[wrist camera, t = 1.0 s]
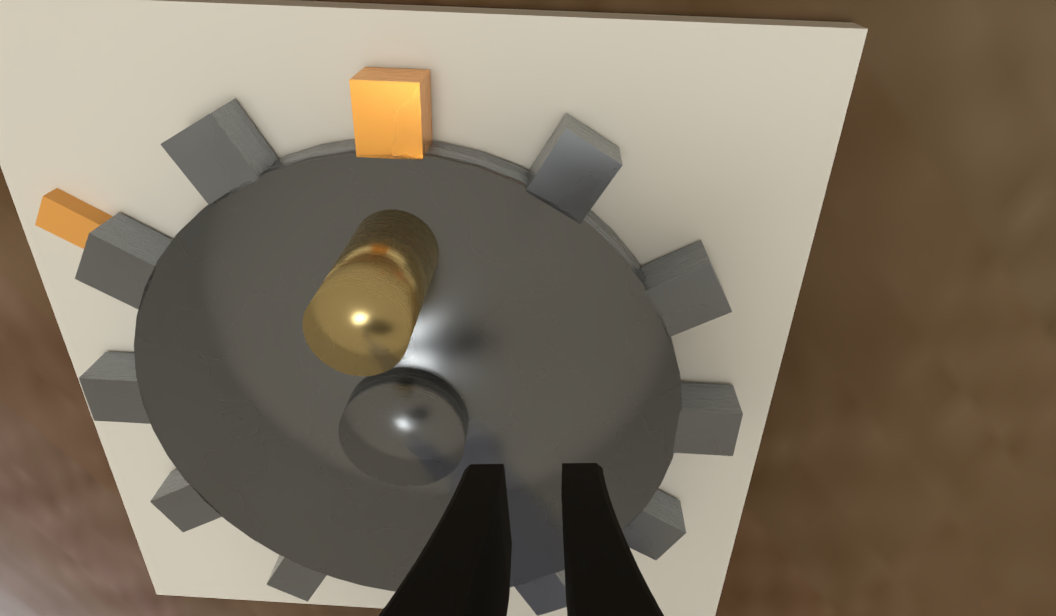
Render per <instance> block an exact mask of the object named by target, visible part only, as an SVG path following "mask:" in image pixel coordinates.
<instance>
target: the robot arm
mask: <svg viewBox="0 0 1056 616" xmlns="http://www.w3.org/2000/svg"><path fill="white" fill-rule="evenodd" d="M561 500H562V523H563V545H564V568H565V590H566V605H567V616H664V615H663V613H662V611H661V609H660V608H659V606H658V604H657V602H656V600H655V598H654V596H653V595H652V593H651V591H650V589H649V587H648V585H647V583H646V581H645V579H644V577H643V575H642V573H641V571H640V569H639V567H638V565H637V563H636V561H635V559H634V557H633V554H632V552H631V550H630V548H629V546H628V543H627V541H626V539H625V537H624V534H623V532H622V530H621V527H620V525H619V522H618V519H617V517H616V514H615V511H614V509H613V506H612V503H611V500H610V497H609V494H608V490H607V487H606V483H605V478H604V473H603V468H602V467H601V466H600V465H598V464H597V463H562V483H561ZM511 553H512V539H511V529H510V519H509V509H508V498H507V488H506V478H505V468H504V464H470V465H469V466H468V467H467V468H466V469H465V470H464V472H463V475H462V477H461V480H460V482H459V484H458V486H457V488H456V490H455V492H454V494H453V497H452V499H451V500H450V502H449V504H448V506H447V508H446V510H445V512H444V514H443V516H442V517H441V519H440V521H439V523H438V525H437V527H436V528H435V530H434V532H433V533H432V535H431V537H430V538H429V540H428V542H427V544H426V545H425V547H424V549H423V550H422V552H421V554H420V555H419V557H418V559H417V560H416V562H415V563H414V565H413V566H412V568H411V569H410V571H409V572H408V574H407V575H406V577H405V578H404V580H403V581H402V583H401V584H400V586H399V587H398V589H397V590H396V592H395V593H394V595H393V596H392V598H391V599H390V601H389V602H388V604H387V605H386V606H385V608H384V609H383V610H382V612H381V613H380V615H379V616H507V610H508V603H509V593H510V574H511Z"/></svg>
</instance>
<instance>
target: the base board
mask: <svg viewBox="0 0 1056 616" xmlns="http://www.w3.org/2000/svg"><path fill="white" fill-rule="evenodd" d="M867 31H868V29H867V28H865V27H862V26H860V25H858V24H855V23H853V22H830V21H805V20H779V19H754V18H729V17H704V16H679V15H653V14H628V13H603V12H578V11H553V10H527V9H502V8H477V7H452V6H426V5H401V4H376V3H351V2H326V1H300V0H0V166H1V169H2V171H3V174H4V177H5V180H6V182H7V185H8V188H9V191H10V193H11V196H12V199H13V202H14V204H15V207H16V210H17V213H18V215H19V218H20V221H21V223H22V226H23V229H24V232H25V234H26V237H27V240H28V243H29V245H30V248H31V251H32V254H33V256H34V259H35V262H36V265H37V267H38V270H39V273H40V276H41V278H42V281H43V284H44V287H45V289H46V292H47V295H48V298H49V300H50V303H51V306H52V308H53V311H54V314H55V317H56V319H57V322H58V325H59V328H60V330H61V333H62V336H63V339H64V341H65V344H66V347H67V350H68V352H69V355H70V358H71V361H72V363H73V366H74V369H75V372H76V374H77V377H78V380H79V377H80V376H81V375H82V374H83V373H84V372H86V371H87V370H88V369H89V368H90V367H91V366H92V365H93V364H94V363H95V362H96V361H97V360H98V359H99V358H100V357H101V356H102V355H103V354H104V353H105V352H123V353H134V337H135V327H136V317H137V313H138V309H136V308H134V307H132V306H130V305H128V304H126V303H124V302H122V301H119V300H117V299H115V298H113V297H111V296H109V295H107V294H105V293H103V292H101V291H99V290H97V289H95V288H93V287H91V286H89V285H86V284H84V283H82V282H80V281H78V280H76V279H75V276H76V273H77V270H78V267H79V263H80V260H81V257H82V254H83V251H84V248H85V244H86V241H87V238H88V235H89V233H90V232H91V231H93V230H94V229H96V228H97V227H98V226H100V225H101V224H103V223H104V222H106V221H107V220H108V219H110V218H111V217H113V216H114V215H116V214H117V213H119V212H120V213H122V214H124V215H125V216H127V217H129V218H131V219H133V220H135V221H137V222H139V223H141V224H143V225H145V226H147V227H149V228H151V229H153V230H155V231H157V232H159V233H160V234H162V235H164V236H166V237H168V238H170V239H172V240H173V239H174V237H175V236H176V234H177V233H178V232H179V231H180V230H181V229H182V228H183V227H184V226H186V225H187V224H188V223H189V222H190V221H191V220H192V219H193V218H194V217H195V216H196V215H197V214H198V213H199V212H200V211H201V210H202V209H203V208H205V207H206V206H207V205H208V203H207V202H206V201H205V200H204V198H203V197H202V196H201V195H200V193H199V192H198V191H197V190H196V188H195V187H194V186H193V185H192V183H191V182H190V181H189V180H188V178H187V177H186V176H185V175H184V173H183V172H182V171H181V170H180V168H179V167H178V166H177V165H176V163H175V162H174V161H173V160H172V158H171V157H170V156H169V155H168V153H167V152H166V151H165V150H164V148H163V147H162V146H161V145H160V144H161V143H163V142H164V141H166V140H168V139H169V138H171V137H173V136H174V135H176V134H177V133H179V132H181V131H182V130H184V129H186V128H187V127H189V126H190V125H192V124H194V123H195V122H197V121H199V120H200V119H202V118H203V117H205V116H207V115H208V114H210V113H212V112H213V111H215V110H217V109H218V108H220V107H222V106H223V105H225V104H227V103H228V102H230V101H232V100H233V99H236V101H237V102H238V103H239V105H240V106H241V107H242V109H243V110H244V112H245V113H246V114H247V116H248V117H249V119H250V120H251V121H252V123H253V124H254V125H255V127H256V128H257V130H258V131H259V132H260V134H261V135H262V136H263V138H264V139H265V141H266V142H267V143H268V145H269V146H270V148H271V149H272V150H273V152H274V153H275V154H276V156H277V157H278V159H279V158H281V157H283V156H285V155H288V154H291V153H295V152H298V151H301V150H305V149H308V148H311V147H315V146H318V145H321V144H326V143H333V142H339V141H346V140H352V139H355V136H354V125H353V115H352V105H351V94H350V84H349V79H351V78H352V77H353V76H354V75H355V74H357V73H358V72H359V71H360V70H361V69H363V68H364V67H378V68H402V69H426V70H430V84H431V109H432V135H433V141H440V142H446V143H450V144H454V145H458V146H462V147H466V148H471V149H475V150H479V151H483V152H486V153H488V154H491V155H493V156H496V157H499V158H501V159H504V160H507V161H509V162H512V163H515V164H517V165H520V166H522V167H524V168H526V169H528V170H529V169H530V168H531V166H532V165H533V163H534V161H535V160H536V158H537V157H538V155H539V154H540V152H541V151H542V149H543V148H544V146H545V144H546V143H547V141H548V140H549V138H550V137H551V135H552V134H553V132H554V131H555V129H556V128H557V126H558V124H559V123H560V121H561V120H562V118H563V117H564V115H565V114H566V113H567V114H569V115H570V116H572V117H573V118H575V119H576V120H578V121H579V122H581V123H583V124H584V125H586V126H587V127H589V128H590V129H592V130H593V131H595V132H597V133H598V134H600V135H601V136H603V137H604V138H606V139H607V140H609V141H610V142H612V143H614V144H615V145H617V146H618V147H619V150H620V155H621V159H622V164H623V165H622V167H621V168H620V169H619V171H618V172H617V174H616V175H615V176H614V178H613V179H612V181H611V182H610V183H609V185H608V186H607V188H606V189H605V190H604V192H603V193H602V194H601V196H600V197H599V199H598V200H597V201H596V203H595V204H594V206H593V207H592V208H591V210H592V211H593V212H594V213H595V214H596V215H597V216H598V217H599V218H600V219H601V220H602V221H603V222H605V223H606V224H607V225H608V226H609V227H610V228H611V229H612V230H613V231H614V232H615V233H616V234H617V235H618V237H619V238H620V239H621V240H622V241H623V243H624V244H625V245H626V246H627V248H628V249H629V250H630V251H631V252H632V254H633V255H634V256H635V257H636V259H637V260H638V262H639V263H640V265H641V266H643V265H645V264H647V263H650V262H652V261H654V260H656V259H659V258H661V257H663V256H666V255H668V254H670V253H672V252H675V251H677V250H679V249H682V248H684V247H686V246H688V245H691V244H693V243H695V242H698V241H700V240H701V241H702V243H703V245H704V247H705V250H706V252H707V254H708V256H709V258H710V261H711V263H712V265H713V267H714V270H715V272H716V274H717V276H718V278H719V281H720V283H721V285H722V287H723V290H724V292H725V295H726V297H727V300H728V302H729V305H730V307H731V310H732V312H731V313H728V314H726V315H723V316H721V317H718V318H716V319H713V320H711V321H708V322H706V323H703V324H701V325H698V326H696V327H693V328H691V329H688V330H686V331H684V332H681V333H679V334H676V335H674V336H671V338H672V342H673V346H674V351H675V355H676V359H677V363H678V367H679V371H680V379H681V382H690V383H709V384H728V385H733V386H734V389H735V392H736V395H737V398H738V401H739V404H740V407H741V410H742V413H743V416H742V420H741V424H740V429H739V433H738V437H737V441H736V445H735V450H734V454H733V456H722V455H704V454H686V453H674V455H673V459H672V461H671V463H670V465H669V468H668V470H667V472H666V474H665V476H664V479H663V481H662V483H661V485H660V486H659V488H658V490H660V491H662V492H664V493H666V494H668V495H670V496H672V497H674V498H676V499H678V500H680V502H681V508H682V513H683V518H684V523H685V529H686V534H685V535H684V536H682V537H681V538H680V539H679V540H678V541H677V542H676V543H675V544H674V545H673V546H672V547H670V548H669V549H668V550H667V551H666V552H665V553H664V554H663V555H662V556H661V557H660V558H658V559H657V560H654V559H652V558H650V557H648V556H646V555H644V554H642V553H639V552H637V551H635V550H633V549H631V548H630V550H631V552H632V554H633V557H634V559H635V561H636V563H637V565H638V567H639V569H640V571H641V573H642V575H643V577H644V579H645V581H646V583H647V585H648V587H649V589H650V591H651V593H652V595H653V596H654V598H655V600H656V602H657V604H658V606H659V608H660V609H661V611H662V613H663V615H664V616H715V614H716V610H717V606H718V602H719V599H720V595H721V591H722V587H723V583H724V579H725V576H726V572H727V568H728V564H729V560H730V556H731V553H732V549H733V545H734V541H735V537H736V533H737V530H738V526H739V522H740V518H741V514H742V510H743V506H744V503H745V499H746V495H747V491H748V487H749V483H750V480H751V476H752V472H753V468H754V464H755V460H756V457H757V453H758V449H759V445H760V441H761V437H762V434H763V430H764V426H765V422H766V418H767V414H768V411H769V407H770V403H771V399H772V395H773V391H774V388H775V384H776V380H777V376H778V372H779V368H780V364H781V361H782V357H783V353H784V349H785V345H786V341H787V338H788V334H789V330H790V326H791V322H792V318H793V315H794V311H795V307H796V303H797V299H798V295H799V292H800V288H801V284H802V280H803V276H804V272H805V269H806V265H807V261H808V257H809V253H810V249H811V245H812V242H813V238H814V234H815V230H816V226H817V222H818V219H819V215H820V211H821V207H822V203H823V199H824V196H825V192H826V188H827V184H828V180H829V176H830V173H831V169H832V165H833V161H834V157H835V153H836V150H837V146H838V142H839V138H840V134H841V130H842V127H843V123H844V119H845V115H846V111H847V107H848V103H849V100H850V96H851V92H852V88H853V84H854V80H855V77H856V73H857V69H858V65H859V61H860V57H861V54H862V50H863V46H864V42H865V38H866V34H867ZM79 383H80V380H79ZM80 385H81V383H80ZM81 388H82V386H81ZM82 391H83V389H82ZM83 393H84V391H83ZM84 396H85V394H84ZM85 399H86V397H85ZM86 402H87V400H86ZM87 404H88V402H87ZM88 407H89V405H88ZM89 410H90V408H89ZM90 413H91V411H90ZM91 415H92V413H91ZM92 418H93V416H92ZM93 421H94V419H93ZM94 424H95V426H96V429H97V432H98V435H99V437H100V440H101V443H102V446H103V448H104V451H105V454H106V457H107V459H108V462H109V465H110V467H111V470H112V473H113V476H114V478H115V481H116V484H117V487H118V489H119V492H120V495H121V498H122V500H123V503H124V506H125V509H126V511H127V514H128V517H129V520H130V522H131V525H132V528H133V531H134V533H135V536H136V539H137V542H138V544H139V547H140V550H141V552H142V555H143V558H144V561H145V563H146V566H147V569H148V572H149V574H150V577H151V580H152V583H153V585H154V588H155V591H156V594H158V595H175V596H191V597H207V598H223V599H239V600H256V601H272V602H288V603H304V604H320V605H337V606H353V607H369V608H385V606H386V605H387V604H388V602H389V601H390V599H391V598H392V596H393V595H394V593H395V591H388V590H383V589H378V588H372V587H367V586H362V585H358V584H355V583H351V582H348V581H344V580H340V579H337V578H333V577H331V576H328V575H327V576H326V577H325V578H324V580H323V581H322V583H321V584H320V585H319V587H318V588H317V590H316V591H315V592H314V594H313V595H312V596H311V598H310V599H309V601H308V602H307V601H305V600H302V599H300V598H297V597H295V596H292V595H290V594H288V593H285V592H283V591H280V590H278V589H275V588H273V587H270V586H268V585H266V584H267V582H268V580H269V577H270V575H271V573H272V571H273V568H274V566H275V564H276V561H277V559H278V557H279V554H277V553H275V552H273V551H272V550H270V549H268V548H267V547H265V546H263V545H261V544H260V543H258V542H256V541H255V540H253V539H251V538H250V537H249V536H247V535H246V534H244V533H243V532H242V531H240V530H239V529H238V528H236V527H235V526H233V525H232V524H231V523H229V522H228V521H227V520H225V519H224V518H223V517H220V518H218V519H215V520H213V521H210V522H208V523H205V524H203V525H201V526H198V527H196V528H193V529H191V530H188V531H186V532H182V531H181V530H180V529H179V528H178V527H177V526H176V525H174V524H173V523H172V522H171V521H170V520H169V519H168V518H167V517H166V516H165V515H164V514H163V513H162V512H161V511H159V510H158V509H157V508H156V507H155V506H154V505H153V504H152V503H151V502H150V501H151V499H152V498H153V497H154V495H155V494H156V492H157V491H158V489H159V488H160V486H161V485H162V484H163V482H164V481H165V479H166V478H167V476H168V475H169V473H170V472H171V471H173V470H176V469H177V468H176V467H175V465H174V464H173V463H172V461H171V460H170V459H169V457H168V456H167V454H166V452H165V451H164V449H163V447H162V445H161V443H160V442H159V440H158V438H157V436H156V434H155V433H154V431H153V429H152V426H151V424H145V423H127V422H109V421H94ZM507 616H537V615H536V614H535V612H534V611H533V610H532V609H531V607H530V606H529V605H528V604H527V602H526V601H525V600H524V599H523V597H522V596H521V595H520V594H519V592H518V591H517V590H516V589H515V587H510V593H509V603H508V610H507ZM539 616H567V607H565V608H562V609H559V610H555V611H552V612H549V613H545V614H542V615H539Z"/></svg>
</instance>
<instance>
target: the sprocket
mask: <svg viewBox="0 0 1056 616" xmlns="http://www.w3.org/2000/svg"><path fill="white" fill-rule="evenodd" d="M349 84H350V94H351V105H352V115H353V125H354V136H355V139H352V140H346V141H339V142H333V143H326V144H321V145H318V146H315V147H311V148H308V149H305V150H301V151H298V152H295V153H291V154H288V155H285V156H283V157H281V158H279V159H278V157H277V156H276V154H275V153H274V152H273V150H272V149H271V148H270V146H269V145H268V143H267V142H266V141H265V139H264V138H263V136H262V135H261V134H260V132H259V131H258V130H257V128H256V127H255V125H254V124H253V123H252V121H251V120H250V119H249V117H248V116H247V114H246V113H245V112H244V110H243V109H242V107H241V106H240V105H239V103H238V102H237V101H236V99H233V100H232V101H230V102H228V103H227V104H225V105H223V106H222V107H220V108H218V109H217V110H215V111H213V112H212V113H210V114H208V115H207V116H205V117H203V118H202V119H200V120H199V121H197V122H195V123H194V124H192V125H190V126H189V127H187V128H186V129H184V130H182V131H181V132H179V133H177V134H176V135H174V136H173V137H171V138H169V139H168V140H166V141H164V142H163V143H161V144H160V145H161V146H162V147H163V148H164V150H165V151H166V152H167V153H168V155H169V156H170V157H171V158H172V160H173V161H174V162H175V163H176V165H177V166H178V167H179V168H180V170H181V171H182V172H183V173H184V175H185V176H186V177H187V178H188V180H189V181H190V182H191V183H192V185H193V186H194V187H195V188H196V190H197V191H198V192H199V193H200V195H201V196H202V197H203V198H204V200H205V201H206V202H207V203H208V205H207V206H206V207H205V208H203V209H202V210H201V211H200V212H199V213H198V214H197V215H196V216H195V217H194V218H193V219H192V220H191V221H190V222H189V223H188V224H187V225H186V226H184V227H183V228H182V229H181V230H180V231H179V232H178V233H177V234H176V236H175V237H174V239H173V240H172V239H170V238H168V237H166V236H164V235H162V234H160V233H159V232H157V231H155V230H153V229H151V228H149V227H147V226H145V225H143V224H141V223H139V222H137V221H135V220H133V219H131V218H129V217H127V216H125V215H124V214H122V213H120V212H119V213H117V214H116V215H114V216H113V217H111V218H110V219H108V220H107V221H106V222H104V223H103V224H101V225H100V226H98V227H97V228H96V229H94V230H93V231H91V232H90V233H89V235H88V238H87V241H86V244H85V248H84V251H83V254H82V257H81V260H80V263H79V267H78V270H77V273H76V276H75V279H76V280H78V281H80V282H82V283H84V284H86V285H89V286H91V287H93V288H95V289H97V290H99V291H101V292H103V293H105V294H107V295H109V296H111V297H113V298H115V299H117V300H119V301H122V302H124V303H126V304H128V305H130V306H132V307H134V308H136V309H138V313H137V317H136V327H135V337H134V353H123V352H105V353H104V354H103V355H102V356H101V357H100V358H99V359H98V360H97V361H96V362H95V363H94V364H93V365H92V366H91V367H90V368H89V369H88V370H87V371H86V372H84V373H83V374H82V375H81V376H80V377H79V380H80V383H81V386H82V389H83V391H84V394H85V397H86V400H87V402H88V405H89V408H90V411H91V413H92V416H93V419H94V421H109V422H127V423H145V424H151V426H152V429H153V431H154V433H155V434H156V436H157V438H158V440H159V442H160V443H161V445H162V447H163V449H164V451H165V452H166V454H167V456H168V457H169V459H170V460H171V461H172V463H173V464H174V465H175V467H176V468H177V469H176V470H173V471H171V472H170V473H169V475H168V476H167V478H166V479H165V481H164V482H163V484H162V485H161V486H160V488H159V489H158V491H157V492H156V494H155V495H154V497H153V498H152V499H151V501H150V502H151V503H152V504H153V505H154V506H155V507H156V508H157V509H158V510H159V511H161V512H162V513H163V514H164V515H165V516H166V517H167V518H168V519H169V520H170V521H171V522H172V523H173V524H174V525H176V526H177V527H178V528H179V529H180V530H181V531H182V532H186V531H188V530H191V529H193V528H196V527H198V526H201V525H203V524H205V523H208V522H210V521H213V520H215V519H218V518H220V517H223V518H224V519H225V520H227V521H228V522H229V523H231V524H232V525H233V526H235V527H236V528H238V529H239V530H240V531H242V532H243V533H244V534H246V535H247V536H249V537H250V538H251V539H253V540H255V541H256V542H258V543H260V544H261V545H263V546H265V547H267V548H268V549H270V550H272V551H273V552H275V553H277V554H279V557H278V559H277V561H276V564H275V566H274V568H273V571H272V573H271V575H270V577H269V580H268V582H267V584H266V585H268V586H270V587H273V588H275V589H278V590H280V591H283V592H285V593H288V594H290V595H292V596H295V597H297V598H300V599H302V600H305V601H307V602H308V601H309V599H310V598H311V596H312V595H313V594H314V592H315V591H316V590H317V588H318V587H319V585H320V584H321V583H322V581H323V580H324V578H325V577H326V576H327V575H328V576H331V577H333V578H337V579H340V580H344V581H348V582H351V583H355V584H358V585H362V586H367V587H372V588H378V589H383V590H388V591H395V592H396V590H397V589H398V587H399V586H400V584H401V583H402V581H403V580H404V578H405V577H406V575H407V574H408V572H409V571H410V569H411V568H412V566H413V565H414V563H415V562H416V560H417V559H418V557H419V555H420V554H421V552H422V550H423V549H424V547H425V545H426V544H427V542H428V540H429V538H430V537H431V535H432V533H433V532H434V530H435V528H436V527H437V525H438V523H439V521H440V519H441V517H442V516H443V514H444V512H445V510H446V508H447V506H448V504H449V502H450V500H451V499H452V497H453V494H454V492H455V490H456V488H457V486H458V484H459V482H460V480H461V477H462V475H463V472H464V470H465V469H466V468H467V467H468V466H469V465H470V464H504V468H505V478H506V488H507V498H508V509H509V519H510V529H511V539H512V553H511V574H510V587H515V589H516V590H517V591H518V592H519V594H520V595H521V596H522V597H523V599H524V600H525V601H526V602H527V604H528V605H529V606H530V607H531V609H532V610H533V611H534V612H535V614H536V615H537V616H539V615H542V614H545V613H549V612H552V611H555V610H559V609H562V608H565V607H567V605H566V590H565V568H564V545H563V523H562V500H561V483H562V463H597V464H598V465H600V466H601V467H602V468H603V473H604V478H605V483H606V487H607V490H608V494H609V497H610V500H611V503H612V506H613V509H614V511H615V514H616V517H617V519H618V522H619V525H620V527H621V530H622V532H623V534H624V537H625V539H626V541H627V543H628V546H629V548H631V549H633V550H635V551H637V552H639V553H642V554H644V555H646V556H648V557H650V558H652V559H654V560H657V559H658V558H660V557H661V556H662V555H663V554H664V553H665V552H666V551H667V550H668V549H669V548H670V547H672V546H673V545H674V544H675V543H676V542H677V541H678V540H679V539H680V538H681V537H682V536H684V535H685V534H686V529H685V523H684V518H683V513H682V508H681V502H680V500H678V499H676V498H674V497H672V496H670V495H668V494H666V493H664V492H662V491H660V490H658V488H659V486H660V485H661V483H662V481H663V479H664V476H665V474H666V472H667V470H668V468H669V465H670V463H671V461H672V459H673V455H674V453H686V454H704V455H722V456H733V454H734V450H735V445H736V441H737V437H738V433H739V429H740V424H741V420H742V416H743V413H742V410H741V407H740V404H739V401H738V398H737V395H736V392H735V389H734V386H733V385H728V384H709V383H690V382H681V379H680V371H679V367H678V363H677V359H676V355H675V351H674V346H673V342H672V338H671V336H674V335H676V334H679V333H681V332H684V331H686V330H688V329H691V328H693V327H696V326H698V325H701V324H703V323H706V322H708V321H711V320H713V319H716V318H718V317H721V316H723V315H726V314H728V313H731V312H732V310H731V307H730V305H729V302H728V300H727V297H726V295H725V292H724V290H723V287H722V285H721V283H720V281H719V278H718V276H717V274H716V272H715V270H714V267H713V265H712V263H711V261H710V258H709V256H708V254H707V252H706V250H705V247H704V245H703V243H702V241H701V240H700V241H698V242H695V243H693V244H691V245H688V246H686V247H684V248H682V249H679V250H677V251H675V252H672V253H670V254H668V255H666V256H663V257H661V258H659V259H656V260H654V261H652V262H650V263H647V264H645V265H643V266H641V265H640V263H639V262H638V260H637V259H636V257H635V256H634V255H633V254H632V252H631V251H630V250H629V249H628V248H627V246H626V245H625V244H624V243H623V241H622V240H621V239H620V238H619V237H618V235H617V234H616V233H615V232H614V231H613V230H612V229H611V228H610V227H609V226H608V225H607V224H606V223H605V222H603V221H602V220H601V219H600V218H599V217H598V216H597V215H596V214H595V213H594V212H593V211H592V210H591V208H592V207H593V206H594V204H595V203H596V201H597V200H598V199H599V197H600V196H601V194H602V193H603V192H604V190H605V189H606V188H607V186H608V185H609V183H610V182H611V181H612V179H613V178H614V176H615V175H616V174H617V172H618V171H619V169H620V168H621V167H622V165H623V164H622V159H621V155H620V150H619V147H618V146H617V145H615V144H614V143H612V142H610V141H609V140H607V139H606V138H604V137H603V136H601V135H600V134H598V133H597V132H595V131H593V130H592V129H590V128H589V127H587V126H586V125H584V124H583V123H581V122H579V121H578V120H576V119H575V118H573V117H572V116H570V115H569V114H567V113H566V114H565V115H564V117H563V118H562V120H561V121H560V123H559V124H558V126H557V128H556V129H555V131H554V132H553V134H552V135H551V137H550V138H549V140H548V141H547V143H546V144H545V146H544V148H543V149H542V151H541V152H540V154H539V155H538V157H537V158H536V160H535V161H534V163H533V165H532V166H531V168H530V169H529V170H528V169H526V168H524V167H522V166H520V165H517V164H515V163H512V162H509V161H507V160H504V159H501V158H499V157H496V156H493V155H491V154H488V153H486V152H483V151H479V150H475V149H471V148H466V147H462V146H458V145H454V144H450V143H446V142H440V141H433V135H432V109H431V84H430V70H426V69H402V68H378V67H364V68H363V69H361V70H360V71H359V72H358V73H357V74H355V75H354V76H353V77H352V78H351V79H349Z"/></svg>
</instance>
